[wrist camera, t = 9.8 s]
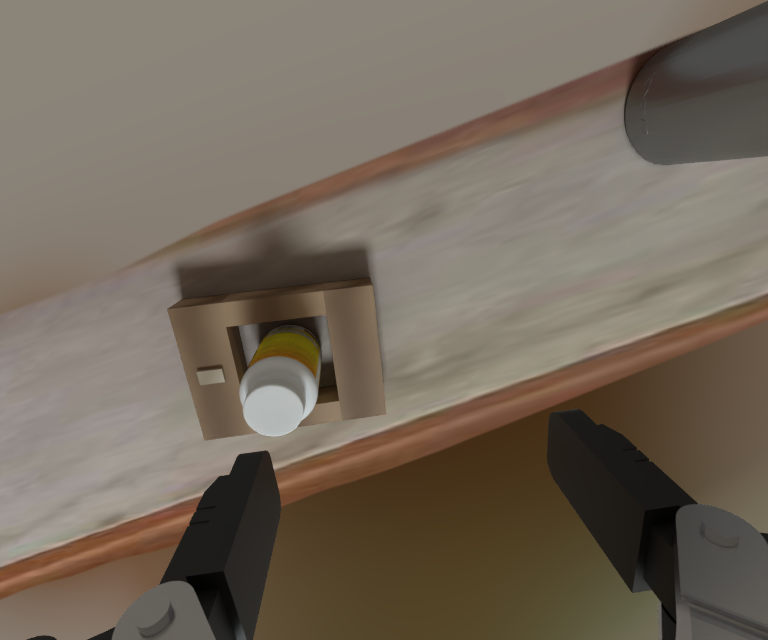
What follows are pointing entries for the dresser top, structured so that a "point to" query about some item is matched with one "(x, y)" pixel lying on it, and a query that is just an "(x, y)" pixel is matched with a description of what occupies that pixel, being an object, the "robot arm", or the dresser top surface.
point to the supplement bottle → (281, 381)
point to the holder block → (226, 312)
